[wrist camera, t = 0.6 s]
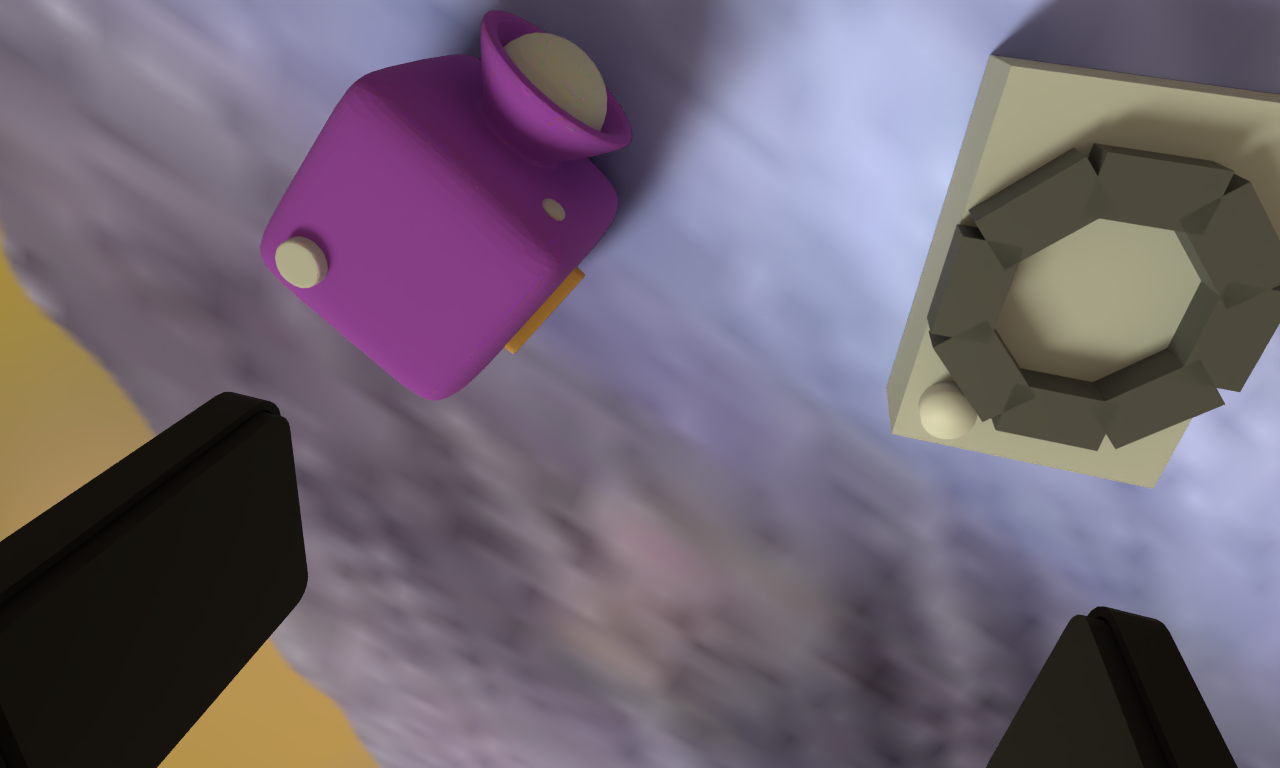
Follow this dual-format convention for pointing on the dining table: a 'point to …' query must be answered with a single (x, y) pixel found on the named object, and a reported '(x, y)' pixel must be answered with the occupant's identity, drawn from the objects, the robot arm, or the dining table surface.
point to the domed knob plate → (1094, 269)
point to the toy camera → (452, 203)
